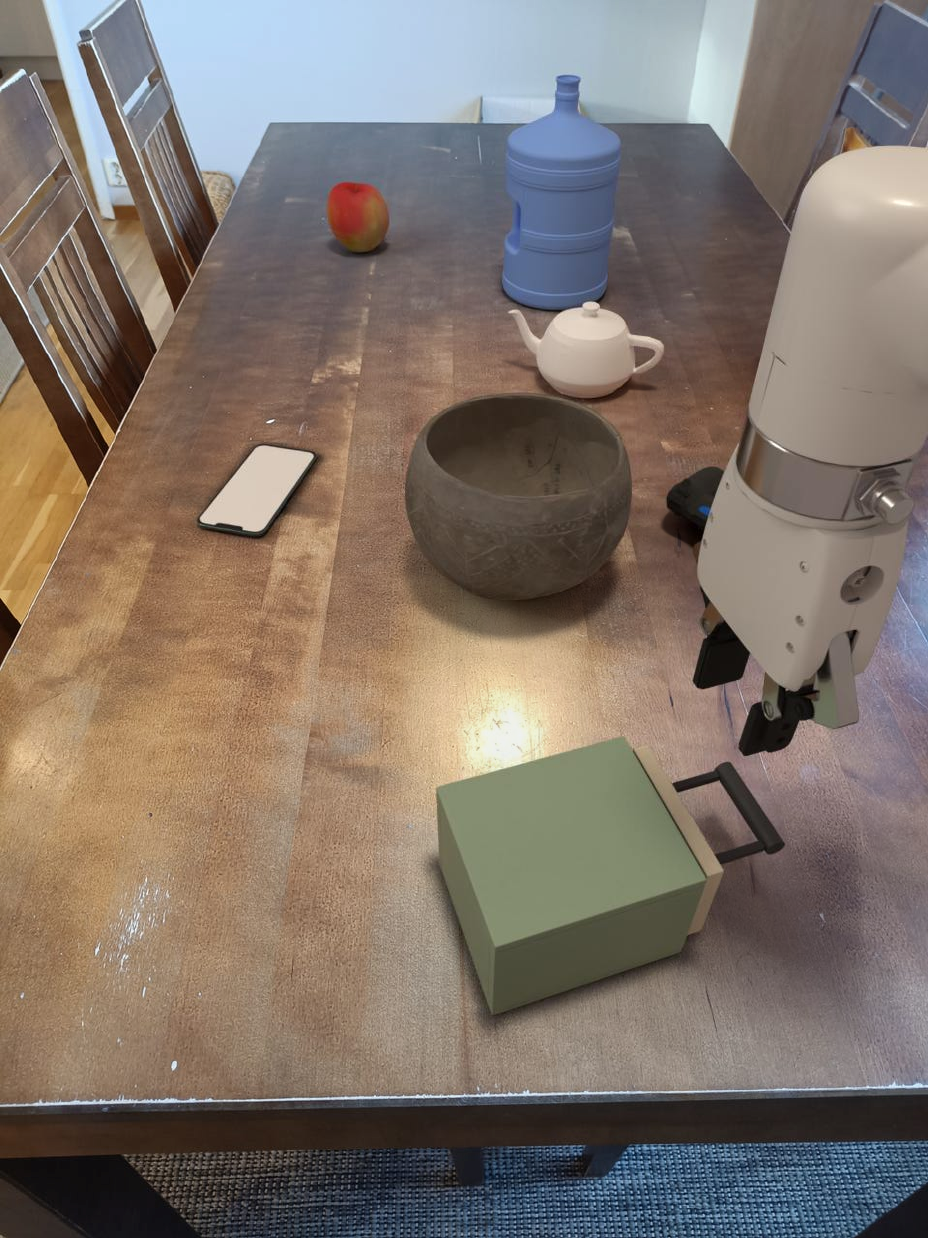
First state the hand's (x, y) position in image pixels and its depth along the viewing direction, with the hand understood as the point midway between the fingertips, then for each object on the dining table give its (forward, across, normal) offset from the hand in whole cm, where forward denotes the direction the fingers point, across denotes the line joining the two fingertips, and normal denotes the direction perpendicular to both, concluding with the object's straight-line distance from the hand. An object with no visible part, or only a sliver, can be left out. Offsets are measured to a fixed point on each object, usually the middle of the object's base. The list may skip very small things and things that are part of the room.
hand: (740, 710), depth 53 cm
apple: (+18, +117, -3) cm, 118 cm away
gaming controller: (+18, +32, -22) cm, 43 cm away
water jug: (+18, +93, -27) cm, 99 cm away
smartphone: (+17, +56, +23) cm, 63 cm away
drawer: (+16, 0, +5) cm, 17 cm away
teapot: (+18, +67, -20) cm, 72 cm away
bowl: (+18, +35, +1) cm, 39 cm away
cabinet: (+17, 0, +11) cm, 20 cm away
